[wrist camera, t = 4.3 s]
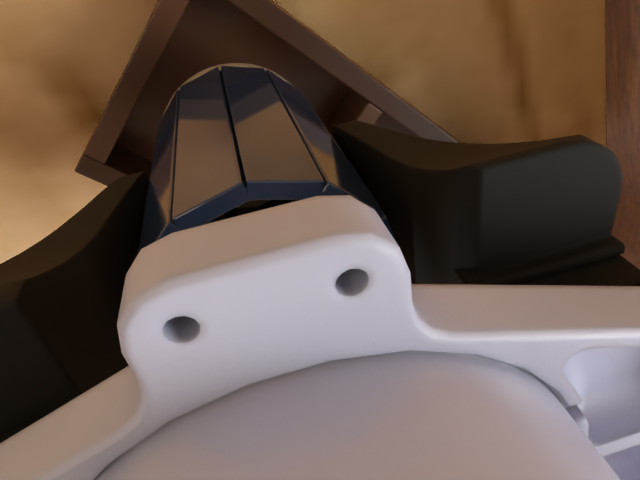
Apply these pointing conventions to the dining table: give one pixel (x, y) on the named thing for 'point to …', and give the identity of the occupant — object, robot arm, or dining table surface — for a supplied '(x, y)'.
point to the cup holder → (234, 47)
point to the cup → (241, 152)
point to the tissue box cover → (625, 116)
